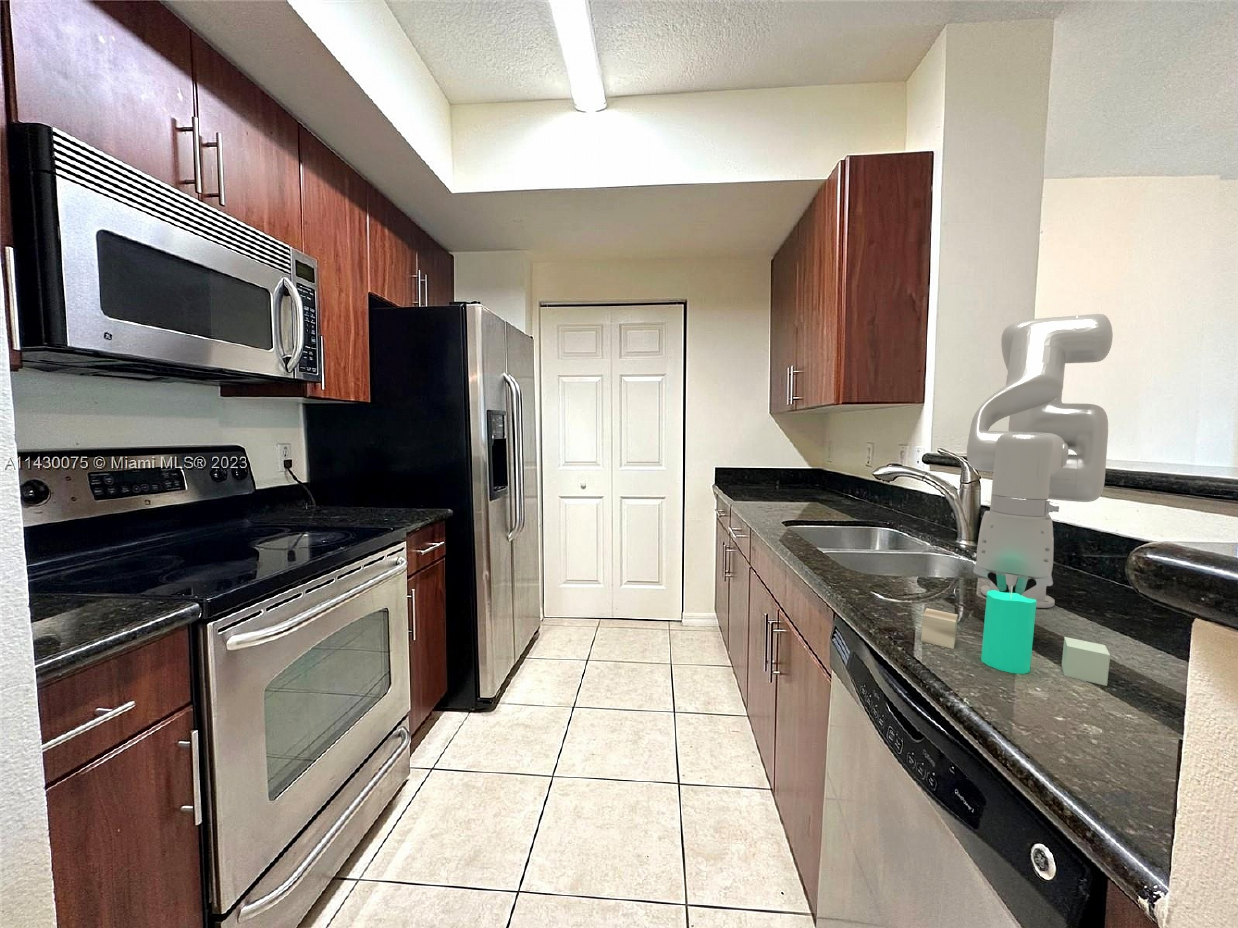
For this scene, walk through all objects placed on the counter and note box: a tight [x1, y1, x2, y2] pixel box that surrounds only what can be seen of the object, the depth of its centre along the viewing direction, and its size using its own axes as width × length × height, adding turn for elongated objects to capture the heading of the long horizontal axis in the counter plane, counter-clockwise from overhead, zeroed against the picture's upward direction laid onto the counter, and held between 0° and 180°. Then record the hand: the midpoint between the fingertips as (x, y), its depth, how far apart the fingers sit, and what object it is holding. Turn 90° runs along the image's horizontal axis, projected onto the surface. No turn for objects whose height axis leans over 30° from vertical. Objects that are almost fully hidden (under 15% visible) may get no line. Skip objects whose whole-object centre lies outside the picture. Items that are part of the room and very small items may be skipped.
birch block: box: [920, 607, 959, 650], centre depth 85 cm, size 4×4×4 cm
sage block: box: [1061, 636, 1111, 687], centre depth 74 cm, size 4×4×4 cm
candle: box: [980, 586, 1037, 675], centre depth 77 cm, size 6×6×12 cm
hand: (1008, 613), depth 88 cm, fingers closed
